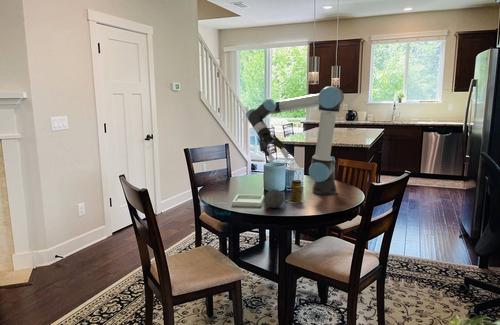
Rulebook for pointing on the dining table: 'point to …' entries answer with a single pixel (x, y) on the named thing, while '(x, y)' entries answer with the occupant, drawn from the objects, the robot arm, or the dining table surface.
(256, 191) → the dining table surface
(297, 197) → the condiment
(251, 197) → the sage tray
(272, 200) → the decorative ball
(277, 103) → the robot arm
